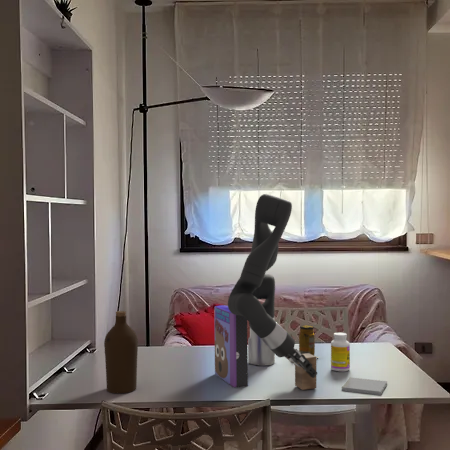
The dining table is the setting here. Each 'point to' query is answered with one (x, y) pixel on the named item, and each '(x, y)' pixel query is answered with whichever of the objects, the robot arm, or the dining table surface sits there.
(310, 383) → the walnut block
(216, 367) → the cereal box
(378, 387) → the slate tile
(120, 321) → the olive oil
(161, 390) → the dining table surface
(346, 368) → the supplement bottle
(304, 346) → the condiment
